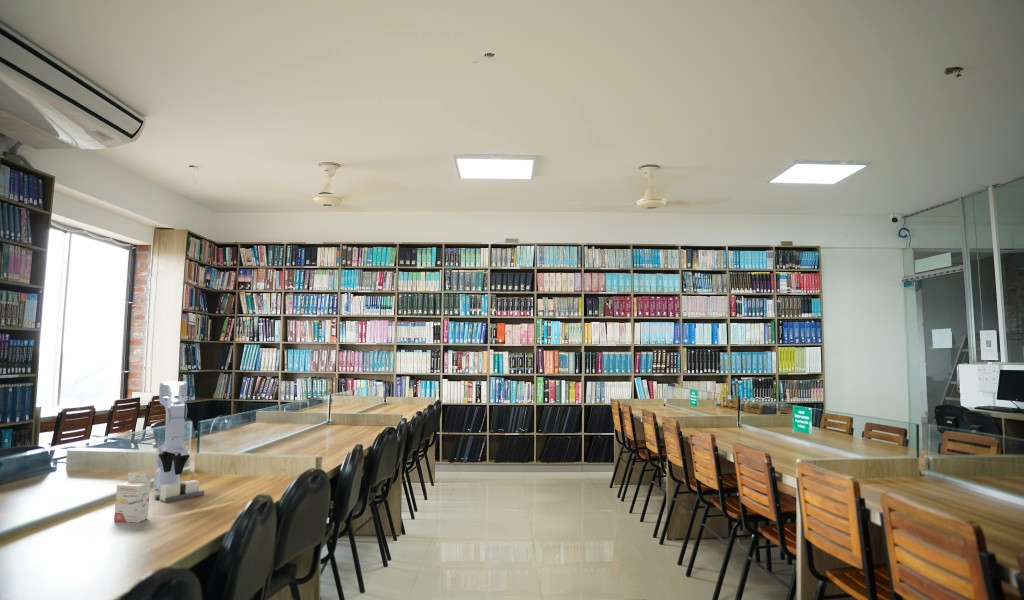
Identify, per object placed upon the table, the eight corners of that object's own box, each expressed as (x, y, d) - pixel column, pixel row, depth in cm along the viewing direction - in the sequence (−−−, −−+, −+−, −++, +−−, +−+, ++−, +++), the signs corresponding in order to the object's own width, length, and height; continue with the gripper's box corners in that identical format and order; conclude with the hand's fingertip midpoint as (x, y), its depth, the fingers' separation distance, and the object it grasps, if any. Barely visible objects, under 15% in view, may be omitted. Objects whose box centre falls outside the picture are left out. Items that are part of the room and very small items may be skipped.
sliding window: (153, 502, 212) (154, 495, 212) (191, 494, 224) (191, 487, 224) (167, 505, 207) (167, 498, 208) (204, 497, 219) (205, 490, 219)
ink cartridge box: (112, 522, 187) (116, 475, 189) (124, 517, 192) (127, 472, 193) (137, 523, 186) (140, 476, 188) (148, 518, 191) (151, 473, 193)
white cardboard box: (159, 499, 211) (160, 485, 212) (175, 496, 216) (175, 482, 217) (165, 501, 209) (166, 486, 210) (181, 497, 214) (181, 484, 215)
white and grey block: (198, 494, 220) (199, 481, 220) (183, 497, 215) (184, 483, 215) (192, 493, 222) (193, 479, 222) (177, 496, 217) (178, 482, 217)
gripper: (153, 435, 219) (151, 472, 218) (175, 439, 212) (172, 477, 210) (172, 433, 225) (170, 469, 224) (194, 437, 218) (191, 474, 216)
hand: (172, 473), depth 218 cm, fingers open, 7 cm apart
